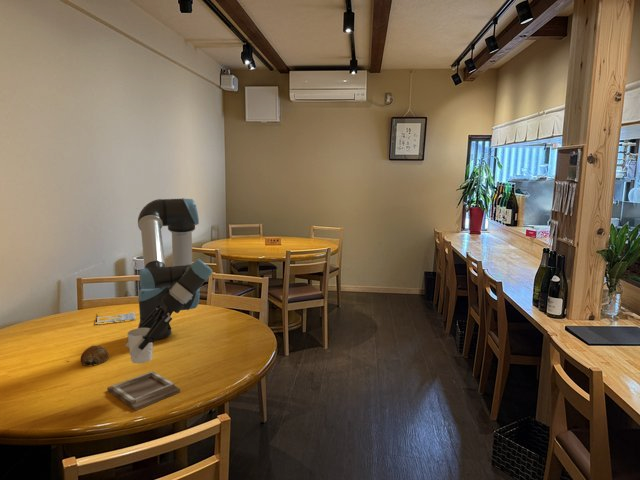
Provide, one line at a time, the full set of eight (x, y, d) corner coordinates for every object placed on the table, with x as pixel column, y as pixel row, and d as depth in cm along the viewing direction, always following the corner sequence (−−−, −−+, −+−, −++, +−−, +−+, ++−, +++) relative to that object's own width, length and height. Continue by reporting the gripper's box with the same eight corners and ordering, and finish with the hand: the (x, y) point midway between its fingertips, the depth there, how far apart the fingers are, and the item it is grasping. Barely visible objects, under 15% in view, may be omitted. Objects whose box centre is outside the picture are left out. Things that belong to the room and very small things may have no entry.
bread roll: (111, 367, 180) (116, 347, 182) (92, 367, 171) (97, 346, 173) (92, 364, 183) (97, 344, 185) (72, 363, 174) (78, 343, 176)
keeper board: (107, 390, 154) (107, 384, 153) (150, 374, 166) (150, 368, 165) (135, 410, 141) (135, 403, 141) (180, 392, 153) (179, 385, 153)
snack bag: (94, 326, 219) (94, 322, 218) (97, 314, 237) (97, 310, 237) (136, 321, 226) (135, 317, 225) (135, 310, 244) (135, 306, 244)
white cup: (145, 365, 147) (143, 336, 145) (124, 363, 149) (122, 335, 147) (158, 355, 155) (157, 328, 153) (138, 354, 156) (136, 326, 155)
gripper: (192, 312, 148) (144, 368, 142) (177, 297, 165) (134, 347, 160) (175, 299, 145) (125, 356, 139) (162, 285, 162) (117, 336, 156)
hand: (130, 351), depth 149 cm, fingers closed on white cup, 8 cm apart
